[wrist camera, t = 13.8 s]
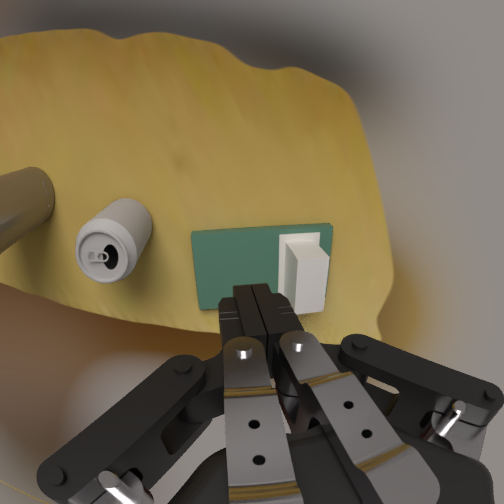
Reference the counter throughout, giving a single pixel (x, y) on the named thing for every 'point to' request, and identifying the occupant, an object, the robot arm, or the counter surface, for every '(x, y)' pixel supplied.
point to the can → (113, 241)
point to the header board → (247, 257)
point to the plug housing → (305, 276)
